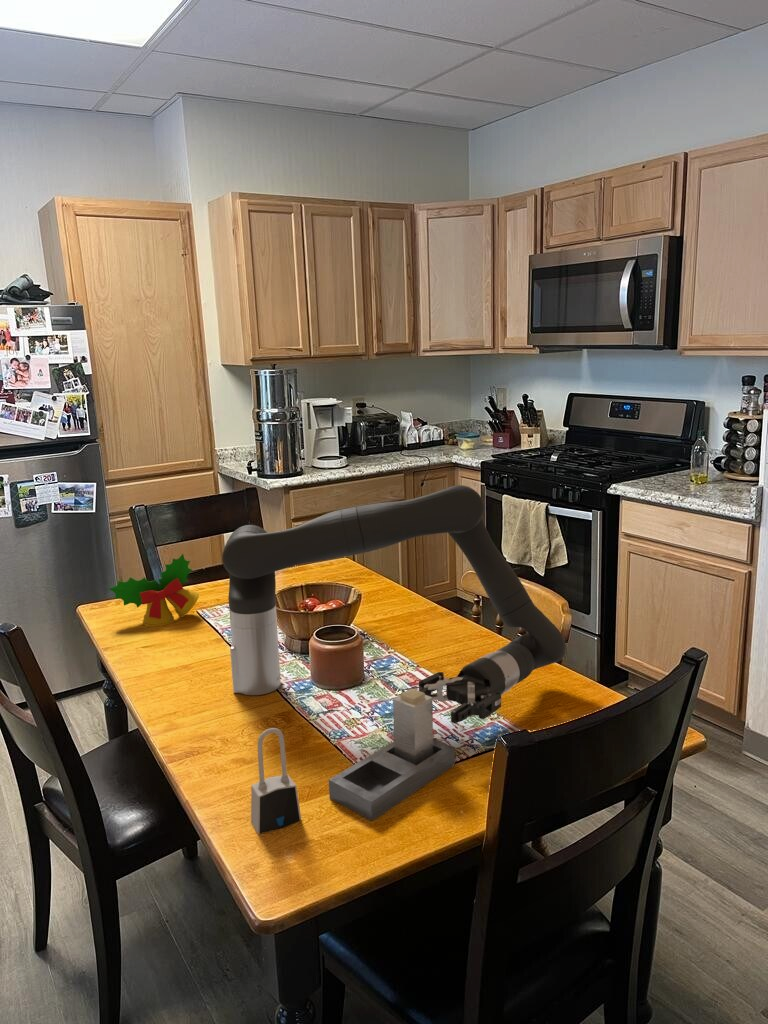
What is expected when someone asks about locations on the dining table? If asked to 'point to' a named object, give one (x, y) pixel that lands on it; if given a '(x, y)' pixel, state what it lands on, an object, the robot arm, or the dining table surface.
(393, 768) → the cinder block
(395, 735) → the grey rectangular block
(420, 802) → the dining table surface
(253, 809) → the padlock
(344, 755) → the dining table surface
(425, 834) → the dining table surface
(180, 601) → the ornament
